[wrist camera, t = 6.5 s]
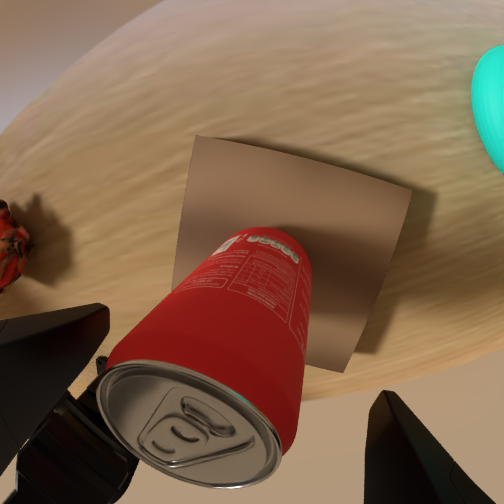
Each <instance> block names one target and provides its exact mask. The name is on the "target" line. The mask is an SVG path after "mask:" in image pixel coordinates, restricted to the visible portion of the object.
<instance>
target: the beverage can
mask: <svg viewBox="0 0 504 504" xmlns="http://www.w3.org/2000/svg"><path fill="white" fill-rule="evenodd" d="M311 284H312V270H311V265H310V261H309V259H308V256H307V254H306V253H305V251H304V249H303V248H302V247H301V245H300V244H299V243H298V242H297V241H296V240H295V239H293V238H292V237H291V236H289V235H288V234H286V233H284V232H282V231H280V230H277V229H274V228H269V227H252V228H247V229H244V230H241V231H239V232H237V233H235V234H234V235H232V236H231V237H230V238H229V239H228V240H227V241H225V242H224V243H223V244H222V245H221V246H220V247H219V248H218V249H217V250H216V251H215V252H214V253H212V254H211V255H210V256H209V257H208V258H207V259H206V260H205V261H204V262H203V263H202V264H201V265H200V266H198V267H197V268H196V269H195V270H194V271H193V272H192V273H191V274H190V275H189V276H188V277H187V278H186V279H185V280H184V281H182V282H181V283H180V284H179V285H178V286H177V287H176V288H175V289H174V290H173V291H172V292H171V293H170V294H169V295H168V296H167V297H166V298H165V299H164V300H162V301H161V302H160V303H159V304H158V305H157V306H156V307H155V308H154V309H153V310H152V311H151V312H150V313H149V314H148V315H147V316H146V317H145V318H144V319H143V320H142V321H141V322H140V323H139V324H138V325H136V326H135V327H134V328H133V329H132V330H131V331H130V332H129V333H128V334H127V335H126V336H125V337H124V338H123V339H122V340H121V341H120V342H119V343H118V344H117V345H116V346H115V347H114V349H113V350H112V352H111V353H110V355H109V358H108V361H107V364H106V371H105V372H104V373H103V375H102V376H101V378H100V379H99V382H98V385H97V391H96V396H97V403H98V407H99V410H100V412H101V415H102V417H103V419H104V421H105V423H106V424H107V426H108V427H109V429H110V430H111V432H112V433H113V434H114V436H115V437H116V438H117V439H118V440H119V441H120V442H121V443H122V444H123V445H124V446H125V447H126V448H127V449H128V450H129V451H130V452H131V453H133V454H134V455H135V456H136V457H138V458H139V459H140V460H142V461H143V462H145V463H146V464H148V465H150V466H151V467H153V468H155V469H156V470H158V471H160V472H162V473H164V474H166V475H168V476H170V477H173V478H175V479H178V480H181V481H184V482H187V483H190V484H194V485H198V486H202V487H207V488H213V489H236V488H244V487H248V486H252V485H255V484H258V483H260V482H262V481H264V480H266V479H268V478H269V477H270V476H271V475H272V474H273V473H274V472H275V471H276V470H277V468H278V467H279V465H280V462H281V459H282V456H283V455H284V454H285V453H286V452H287V451H288V450H289V448H290V447H291V445H292V443H293V441H294V439H295V436H296V432H297V425H298V418H299V411H300V403H301V394H302V386H303V377H304V368H305V358H306V347H307V337H308V325H309V312H310V299H311Z"/></svg>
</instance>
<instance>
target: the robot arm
mask: <svg viewBox="0 0 504 504" xmlns="http://www.w3.org/2000/svg"><path fill="white" fill-rule="evenodd" d="M109 330H110V311H109V308H108V307H107V306H105V305H103V304H101V303H93V304H88V305H83V306H77V307H72V308H67V309H61V310H56V311H51V312H45V313H40V314H34V315H28V316H23V317H17V318H11V319H5V320H0V476H1V475H2V473H3V472H4V471H5V469H6V468H7V466H8V465H9V464H10V462H11V461H12V459H13V458H14V457H15V456H16V454H17V453H18V454H17V462H16V479H15V489H14V490H13V491H12V492H11V493H10V495H9V496H8V497H7V498H6V499H5V501H4V502H3V503H2V504H114V503H115V502H117V501H118V500H119V499H120V498H121V496H122V495H123V494H124V493H125V491H126V490H127V488H128V486H129V484H130V482H131V479H132V477H133V475H134V472H135V470H136V468H137V465H138V463H139V460H140V459H139V458H138V457H136V456H135V455H134V454H133V453H131V452H130V451H129V450H128V449H127V448H126V447H125V446H124V445H123V444H122V443H121V442H120V441H119V440H118V439H117V438H116V437H115V436H114V434H113V433H112V432H111V430H110V429H109V427H108V426H107V424H106V423H105V421H104V419H103V417H102V415H101V412H100V410H99V407H98V403H97V396H96V391H97V385H98V382H99V379H100V378H101V376H102V375H103V373H104V372H105V371H106V364H107V361H108V360H107V359H105V358H103V357H101V356H99V357H98V358H97V359H96V366H97V374H98V376H97V377H96V378H95V379H94V380H93V381H92V382H91V383H90V384H89V385H88V387H87V389H86V390H85V391H84V392H83V393H82V394H81V395H80V396H79V397H78V398H77V399H75V398H74V397H73V396H72V395H71V393H70V392H69V391H68V390H67V389H68V387H69V386H70V385H71V384H72V383H73V381H74V380H75V379H76V378H77V377H78V375H79V374H80V373H81V372H82V371H83V369H84V368H85V367H86V366H87V364H88V363H89V361H90V360H91V358H92V357H93V355H94V354H95V352H96V351H97V349H98V348H99V346H100V345H101V343H102V342H103V340H104V339H105V337H106V336H107V335H108V333H109ZM27 439H29V440H28V441H27ZM26 441H27V443H26V444H25V445H24V443H25V442H26ZM23 445H24V446H23ZM22 446H23V447H22ZM21 447H22V448H21ZM20 448H21V449H20ZM364 504H496V503H495V502H494V501H493V500H492V499H491V498H490V497H489V496H488V495H486V494H485V492H483V491H482V490H481V489H480V488H479V487H478V486H477V485H476V484H475V483H474V482H473V481H472V480H471V479H470V478H469V476H468V475H467V474H466V473H465V472H464V471H463V470H462V469H461V467H460V466H459V465H458V464H457V463H456V462H455V461H454V459H453V458H452V457H451V456H450V455H449V453H448V452H447V451H446V450H445V449H444V448H443V447H442V445H441V444H440V443H439V442H438V441H437V440H436V438H435V437H434V436H433V435H432V434H431V433H430V431H429V430H428V429H427V428H426V427H425V426H424V425H423V423H422V422H421V421H420V420H419V419H418V418H417V417H416V415H414V413H413V412H412V411H411V410H410V409H409V407H408V406H407V405H406V404H405V403H404V402H403V401H402V399H401V398H400V397H399V396H398V395H397V394H396V393H395V392H393V391H387V390H383V391H381V393H380V394H379V396H378V397H377V399H376V400H375V402H374V403H373V405H372V407H371V409H370V411H369V419H368V429H367V438H366V448H365V479H364Z"/></svg>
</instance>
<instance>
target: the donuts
mask: <svg viewBox="0 0 504 504" xmlns="http://www.w3.org/2000/svg"><path fill="white" fill-rule="evenodd" d="M471 102H472V110H473V116H474V120H475V124H476V127H477V130H478V133H479V136H480V138H481V141H482V143H483V145H484V147H485V149H486V151H487V153H488V155H489V156H490V158H491V159H492V161H493V163H494V164H495V165H496V167H497V168H498V169H499V170H500V171H501V172H502V173H503V175H504V45H499V46H496V47H494V48H492V49H490V50H489V51H487V52H486V53H485V54H484V55H483V56H482V57H481V59H480V60H479V62H478V64H477V66H476V68H475V71H474V74H473V78H472V86H471Z"/></svg>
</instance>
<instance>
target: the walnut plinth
mask: <svg viewBox="0 0 504 504" xmlns="http://www.w3.org/2000/svg"><path fill="white" fill-rule="evenodd" d="M412 192H413V191H412V190H409V189H407V188H404V187H401V186H398V185H395V184H392V183H389V182H386V181H383V180H380V179H377V178H374V177H370V176H367V175H364V174H361V173H358V172H354V171H351V170H347V169H344V168H341V167H337V166H333V165H330V164H326V163H323V162H319V161H315V160H311V159H307V158H303V157H299V156H295V155H291V154H287V153H283V152H279V151H274V150H270V149H265V148H261V147H256V146H251V145H247V144H242V143H237V142H231V141H226V140H221V139H215V138H210V137H204V136H198V135H196V136H195V141H194V146H193V151H192V157H191V162H190V167H189V173H188V178H187V184H186V190H185V196H184V202H183V208H182V214H181V221H180V227H179V234H178V241H177V248H176V256H175V264H174V272H173V280H172V289H171V292H172V291H173V290H174V289H175V288H176V287H177V286H178V285H179V284H180V283H181V282H182V281H184V280H185V279H186V278H187V277H188V276H189V275H190V274H191V273H192V272H193V271H194V270H195V269H196V268H197V267H198V266H200V265H201V264H202V263H203V262H204V261H205V260H206V259H207V258H208V257H209V256H210V255H211V254H212V253H214V252H215V251H216V250H217V249H218V248H219V247H220V246H221V245H222V244H223V243H224V242H225V241H227V240H228V239H229V238H230V237H231V236H232V235H234V234H235V233H237V232H239V231H241V230H244V229H247V228H252V227H269V228H274V229H277V230H280V231H282V232H284V233H286V234H288V235H289V236H291V237H292V238H293V239H295V240H296V241H297V242H298V243H299V244H300V245H301V247H302V248H303V249H304V251H305V253H306V254H307V256H308V259H309V261H310V265H311V270H312V284H311V299H310V312H309V325H308V337H307V347H306V358H305V364H306V365H310V366H314V367H318V368H322V369H327V370H331V371H335V372H340V373H343V372H344V370H345V368H346V366H347V364H348V362H349V360H350V358H351V356H352V354H353V352H354V349H355V347H356V345H357V343H358V341H359V339H360V336H361V334H362V332H363V330H364V327H365V325H366V323H367V320H368V318H369V316H370V313H371V311H372V309H373V306H374V304H375V301H376V299H377V296H378V294H379V291H380V289H381V286H382V283H383V281H384V278H385V276H386V273H387V270H388V267H389V265H390V262H391V259H392V256H393V253H394V250H395V247H396V245H397V242H398V238H399V235H400V232H401V229H402V226H403V223H404V220H405V216H406V213H407V210H408V206H409V203H410V199H411V196H412Z"/></svg>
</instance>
